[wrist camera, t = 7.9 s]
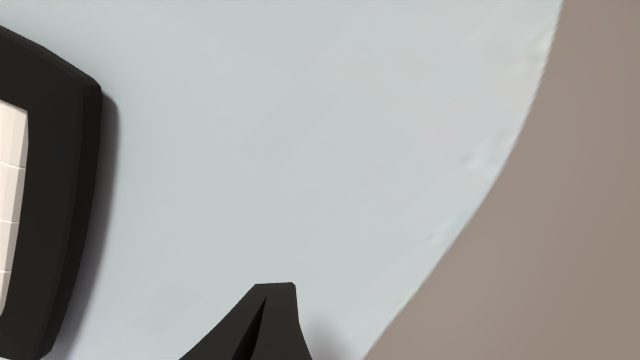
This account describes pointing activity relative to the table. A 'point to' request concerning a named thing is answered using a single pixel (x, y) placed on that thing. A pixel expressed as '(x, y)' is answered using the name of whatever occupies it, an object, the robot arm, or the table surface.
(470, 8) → the table surface
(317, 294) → the table surface
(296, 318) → the robot arm
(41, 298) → the light switch
